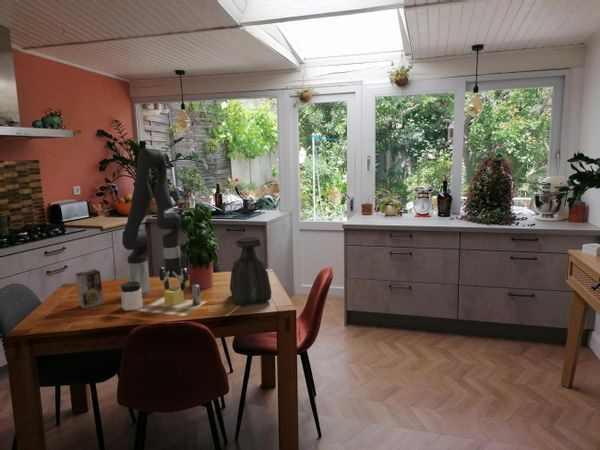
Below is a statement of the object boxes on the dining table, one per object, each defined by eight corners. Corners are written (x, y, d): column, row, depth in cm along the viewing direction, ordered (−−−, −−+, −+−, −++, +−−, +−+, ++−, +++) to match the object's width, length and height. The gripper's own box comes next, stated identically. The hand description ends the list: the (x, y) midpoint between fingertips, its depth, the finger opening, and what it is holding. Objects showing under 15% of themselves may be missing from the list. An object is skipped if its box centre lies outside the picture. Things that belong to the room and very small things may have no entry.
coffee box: (98, 300, 211) (95, 268, 208) (103, 303, 206) (100, 271, 203) (79, 305, 204) (75, 272, 202) (83, 308, 200) (80, 275, 197)
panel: (136, 312, 193) (136, 310, 192) (162, 299, 210) (162, 297, 210) (184, 318, 185) (184, 315, 184) (207, 303, 202) (207, 301, 202)
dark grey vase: (265, 293, 216) (263, 234, 211) (272, 303, 200) (270, 240, 196) (229, 297, 211) (226, 237, 206) (234, 308, 195) (231, 243, 190)
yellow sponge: (164, 304, 200) (163, 290, 199) (175, 298, 207) (174, 285, 206) (174, 305, 198) (173, 291, 197) (183, 299, 206) (183, 286, 205)
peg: (191, 305, 198) (189, 286, 196) (195, 302, 201) (194, 284, 200) (197, 305, 197) (196, 286, 195) (202, 303, 200) (200, 284, 199)
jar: (120, 313, 193) (118, 287, 191) (123, 307, 200) (121, 282, 198) (141, 311, 194) (139, 285, 193) (144, 305, 202) (141, 280, 200)
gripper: (154, 257, 198) (157, 291, 201) (180, 258, 194) (183, 292, 196) (163, 253, 205) (167, 286, 208) (189, 254, 201) (192, 288, 203)
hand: (175, 289), depth 202 cm, fingers open, 8 cm apart
